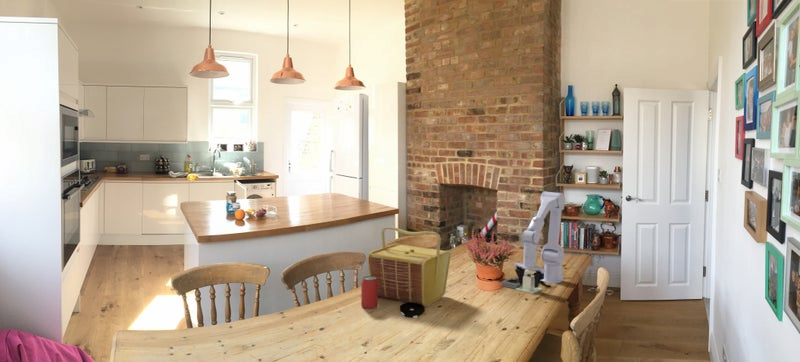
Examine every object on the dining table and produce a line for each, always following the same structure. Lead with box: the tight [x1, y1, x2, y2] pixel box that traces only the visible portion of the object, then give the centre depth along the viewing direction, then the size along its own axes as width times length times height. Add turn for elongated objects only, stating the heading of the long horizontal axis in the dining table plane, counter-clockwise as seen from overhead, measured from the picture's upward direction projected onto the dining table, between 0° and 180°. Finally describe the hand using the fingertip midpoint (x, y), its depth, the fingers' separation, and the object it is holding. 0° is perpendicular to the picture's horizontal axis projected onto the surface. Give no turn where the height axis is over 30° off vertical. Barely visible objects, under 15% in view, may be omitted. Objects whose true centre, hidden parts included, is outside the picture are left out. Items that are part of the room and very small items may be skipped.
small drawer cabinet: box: [501, 275, 523, 290], centre depth 248 cm, size 18×8×3 cm, turn 137°
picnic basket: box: [367, 226, 451, 307], centre depth 226 cm, size 29×26×30 cm
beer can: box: [360, 275, 378, 310], centre depth 214 cm, size 7×7×12 cm
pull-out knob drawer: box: [524, 269, 531, 276], centre depth 251 cm, size 4×4×7 cm
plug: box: [523, 273, 535, 291], centre depth 238 cm, size 4×4×7 cm
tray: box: [515, 286, 543, 295], centre depth 239 cm, size 8×8×1 cm
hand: (528, 285), depth 238 cm, fingers open, 7 cm apart
